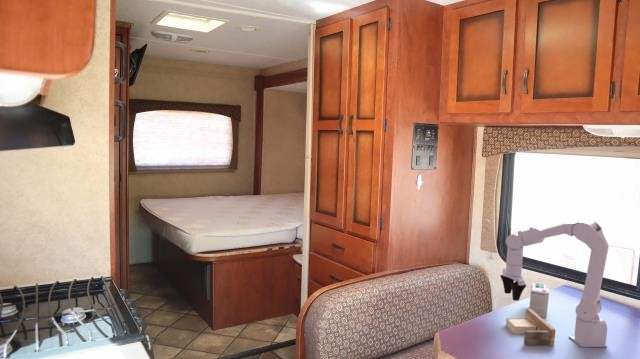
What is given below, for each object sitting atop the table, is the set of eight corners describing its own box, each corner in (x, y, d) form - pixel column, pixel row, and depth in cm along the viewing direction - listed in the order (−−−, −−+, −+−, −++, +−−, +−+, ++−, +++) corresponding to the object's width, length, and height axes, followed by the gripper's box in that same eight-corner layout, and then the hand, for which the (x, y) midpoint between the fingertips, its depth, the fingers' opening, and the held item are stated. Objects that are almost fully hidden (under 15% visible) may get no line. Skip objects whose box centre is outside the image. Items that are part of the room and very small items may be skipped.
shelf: (529, 323, 180) (530, 308, 179) (554, 345, 162) (555, 329, 161) (503, 323, 180) (504, 308, 179) (525, 345, 162) (526, 329, 161)
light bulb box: (529, 306, 197) (531, 282, 196) (546, 309, 194) (549, 284, 193) (528, 315, 187) (530, 290, 186) (547, 318, 184) (549, 293, 183)
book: (526, 325, 178) (527, 318, 178) (535, 334, 171) (536, 326, 171) (506, 325, 178) (506, 318, 177) (514, 334, 171) (514, 326, 170)
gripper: (496, 257, 187) (494, 289, 189) (512, 269, 173) (509, 303, 175) (513, 258, 188) (511, 290, 189) (530, 269, 173) (528, 303, 175)
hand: (511, 296), depth 182 cm, fingers open, 7 cm apart
